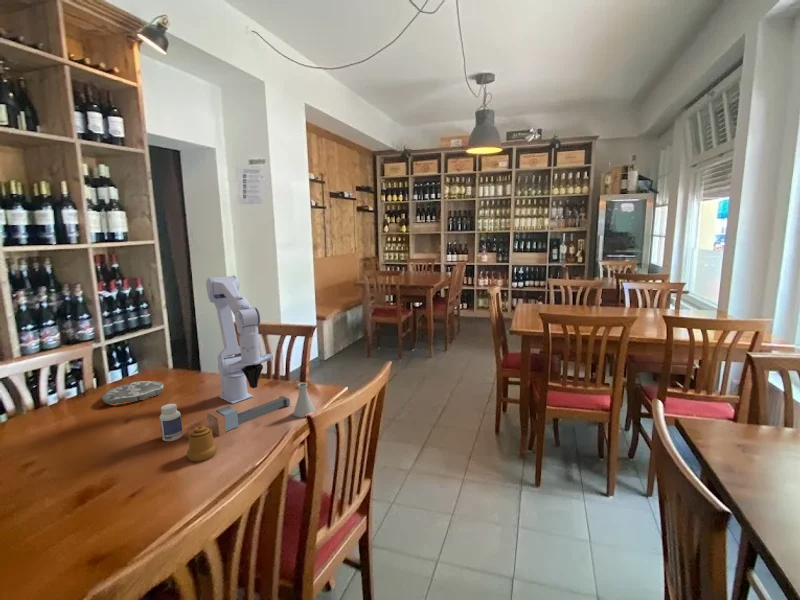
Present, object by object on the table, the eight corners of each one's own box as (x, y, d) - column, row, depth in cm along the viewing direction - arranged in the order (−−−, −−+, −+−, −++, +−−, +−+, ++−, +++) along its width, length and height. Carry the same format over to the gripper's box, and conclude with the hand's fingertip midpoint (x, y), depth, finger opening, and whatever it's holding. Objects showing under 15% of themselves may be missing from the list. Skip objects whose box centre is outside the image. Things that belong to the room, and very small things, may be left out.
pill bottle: (187, 434, 125) (183, 404, 124) (170, 443, 120) (166, 411, 119) (174, 431, 128) (170, 401, 126) (158, 439, 123) (154, 408, 121)
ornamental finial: (220, 446, 118) (213, 461, 111) (192, 449, 117) (183, 464, 110) (217, 420, 117) (210, 432, 109) (189, 422, 115) (179, 435, 108)
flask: (318, 408, 141) (316, 380, 139) (311, 418, 134) (309, 388, 132) (297, 408, 142) (295, 380, 140) (289, 418, 135) (287, 388, 133)
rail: (208, 429, 128) (206, 412, 128) (280, 401, 148) (279, 386, 147) (219, 436, 124) (217, 418, 123) (292, 406, 143) (291, 391, 142)
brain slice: (157, 384, 169) (156, 377, 168) (169, 395, 156) (168, 388, 156) (97, 398, 155) (96, 390, 155) (105, 412, 143) (104, 404, 143)
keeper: (217, 426, 130) (216, 410, 129) (230, 421, 133) (228, 405, 132) (226, 431, 126) (224, 414, 125) (238, 426, 129) (236, 410, 128)
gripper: (234, 354, 125) (238, 397, 127) (277, 343, 136) (280, 383, 138) (223, 350, 129) (227, 391, 132) (264, 339, 140) (268, 378, 143)
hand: (253, 387), depth 135 cm, fingers closed
